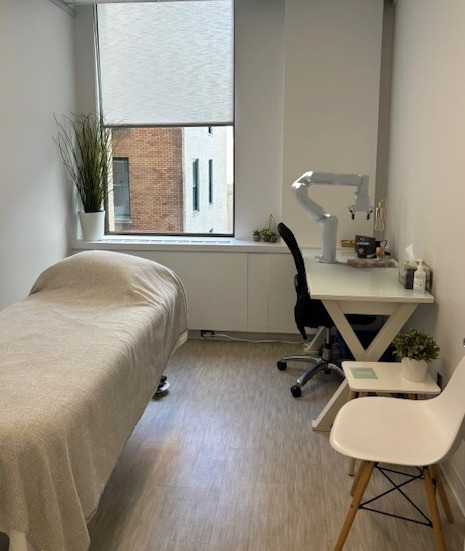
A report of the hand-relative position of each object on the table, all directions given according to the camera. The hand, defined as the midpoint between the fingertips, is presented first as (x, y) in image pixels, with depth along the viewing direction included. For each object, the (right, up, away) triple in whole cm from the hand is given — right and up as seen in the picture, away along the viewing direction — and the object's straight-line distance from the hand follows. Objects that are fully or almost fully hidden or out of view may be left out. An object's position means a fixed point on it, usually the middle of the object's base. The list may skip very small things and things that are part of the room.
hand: (360, 220), depth 355 cm
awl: (+10, -30, -11) cm, 33 cm away
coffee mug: (+6, -25, +17) cm, 31 cm away
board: (+4, -30, -11) cm, 32 cm away
